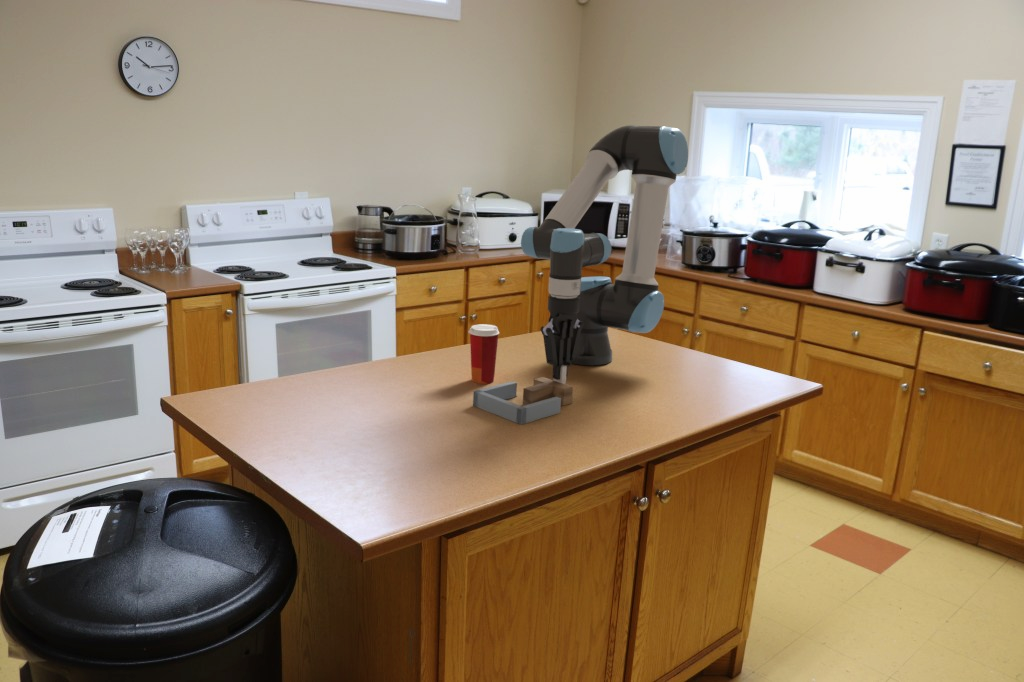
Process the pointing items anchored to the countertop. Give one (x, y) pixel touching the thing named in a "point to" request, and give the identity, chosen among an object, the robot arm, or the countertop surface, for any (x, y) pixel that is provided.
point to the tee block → (547, 391)
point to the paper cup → (483, 352)
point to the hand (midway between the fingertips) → (559, 391)
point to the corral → (497, 404)
